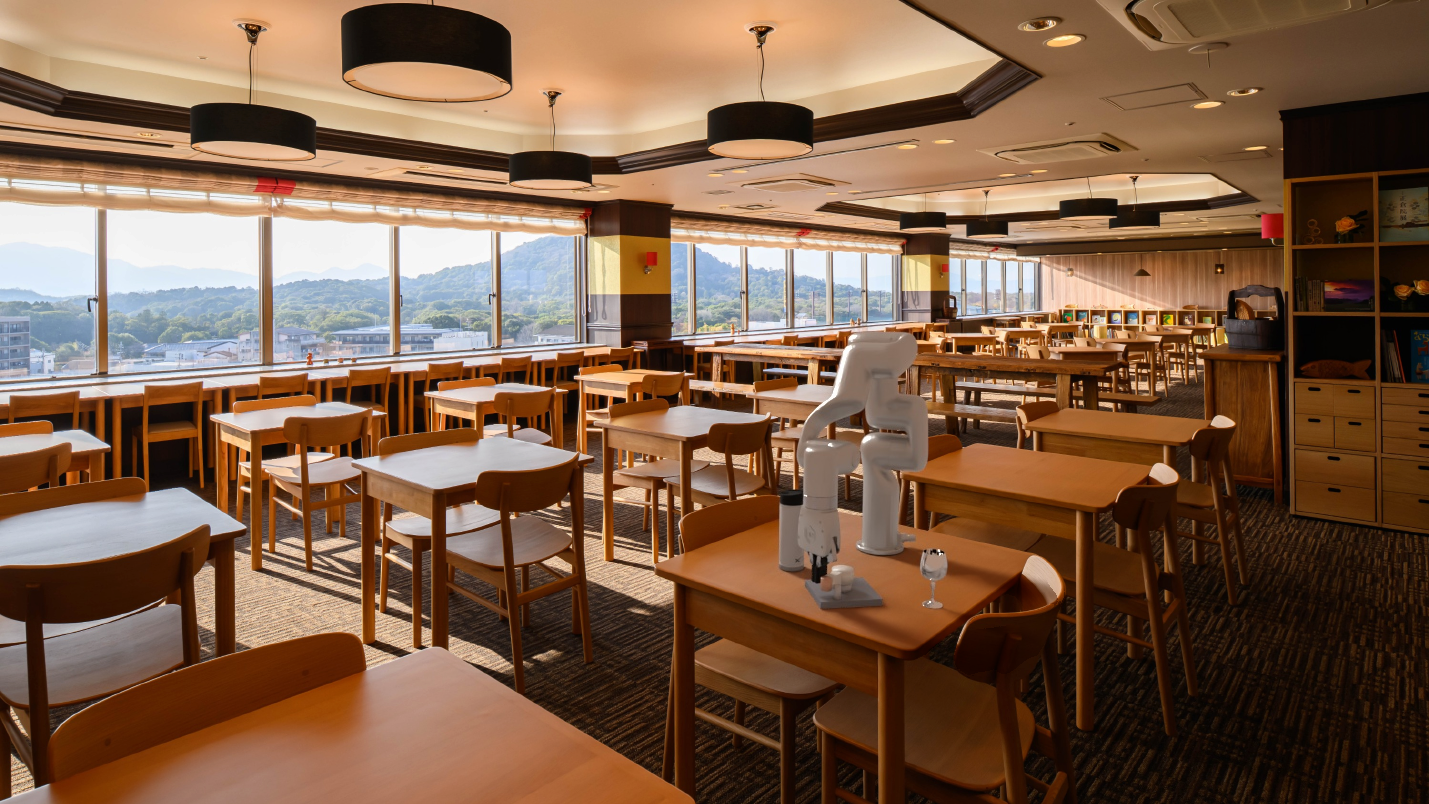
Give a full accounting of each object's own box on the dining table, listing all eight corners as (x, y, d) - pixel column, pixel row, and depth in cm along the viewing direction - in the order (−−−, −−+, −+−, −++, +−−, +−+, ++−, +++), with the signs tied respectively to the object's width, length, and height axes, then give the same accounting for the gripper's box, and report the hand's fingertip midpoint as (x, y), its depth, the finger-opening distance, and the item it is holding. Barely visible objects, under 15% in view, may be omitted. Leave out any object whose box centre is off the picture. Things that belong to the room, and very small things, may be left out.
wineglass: (915, 600, 176) (916, 548, 174) (940, 599, 176) (942, 547, 175) (924, 610, 170) (925, 556, 169) (949, 609, 171) (952, 555, 169)
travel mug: (804, 572, 194) (805, 493, 191) (777, 570, 195) (778, 492, 193) (806, 564, 200) (807, 487, 198) (780, 562, 201) (781, 486, 199)
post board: (862, 583, 187) (862, 564, 186) (882, 605, 173) (883, 585, 172) (804, 585, 185) (805, 567, 184) (820, 608, 171) (820, 588, 171)
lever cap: (838, 576, 182) (838, 563, 182) (857, 580, 179) (858, 567, 179) (813, 589, 173) (813, 576, 173) (833, 595, 170) (833, 581, 170)
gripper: (786, 496, 178) (785, 574, 180) (828, 511, 165) (827, 595, 168) (812, 492, 182) (811, 568, 184) (856, 506, 169) (854, 588, 172)
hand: (819, 581), depth 176 cm, fingers closed
